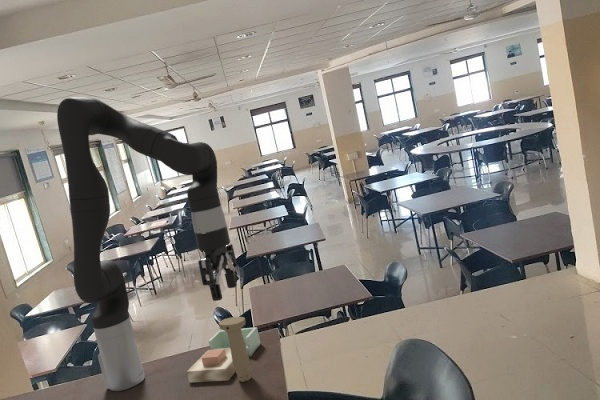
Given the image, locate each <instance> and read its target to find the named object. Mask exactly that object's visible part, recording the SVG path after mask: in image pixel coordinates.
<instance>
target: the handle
mask: <svg viewBox="0 0 600 400" xmlns="http://www.w3.org/2000/svg"><path fill="white" fill-rule="evenodd" d="M246 322H247V321H246V318H245V317H243V316H231V317H228V318H224V319H222V320H221V321H219V322H218V326H219V329H220V330H221V331H222V330H224V331H226V332H227V334H228V338H229V344H230V349H231V355H232V361H233V365H234V368H235V371H236V372H235V373H236V375H237V380H238V381H240V382H242V383H244V382H248V381H250V379H252V378H253V377H252V376H253V375H252V372H251V370H252V369H251V368H252V367H251V362H250V361H251V360H250V356H248V352H247V349H246V346H245V342H244V339H243V335H242V331H241V329H243V328H244V327H245V325H246V324H247V323H246Z"/></svg>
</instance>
